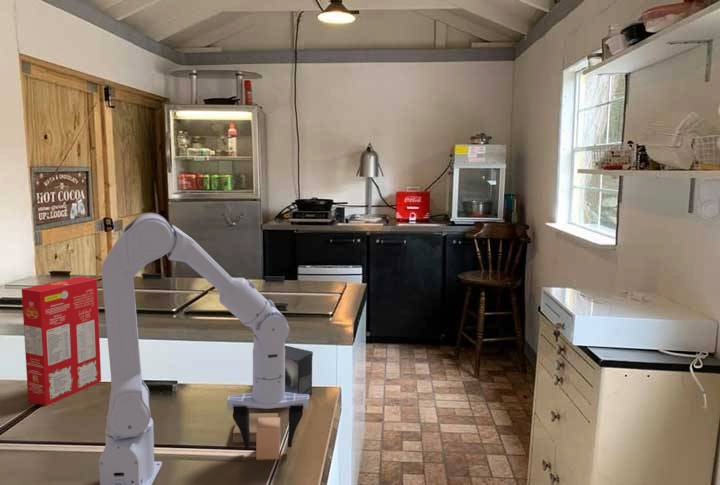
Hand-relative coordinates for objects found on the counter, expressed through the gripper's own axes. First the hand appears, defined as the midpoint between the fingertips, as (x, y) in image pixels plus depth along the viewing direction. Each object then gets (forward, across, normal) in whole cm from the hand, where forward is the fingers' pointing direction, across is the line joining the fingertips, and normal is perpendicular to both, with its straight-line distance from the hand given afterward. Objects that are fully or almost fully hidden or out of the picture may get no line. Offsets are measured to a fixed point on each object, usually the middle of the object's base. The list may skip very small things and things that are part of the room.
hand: (268, 444), depth 97 cm
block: (+2, 0, 0) cm, 2 cm away
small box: (+2, -2, -26) cm, 26 cm away
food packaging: (+2, +48, -29) cm, 56 cm away
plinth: (+2, +3, -8) cm, 9 cm away
